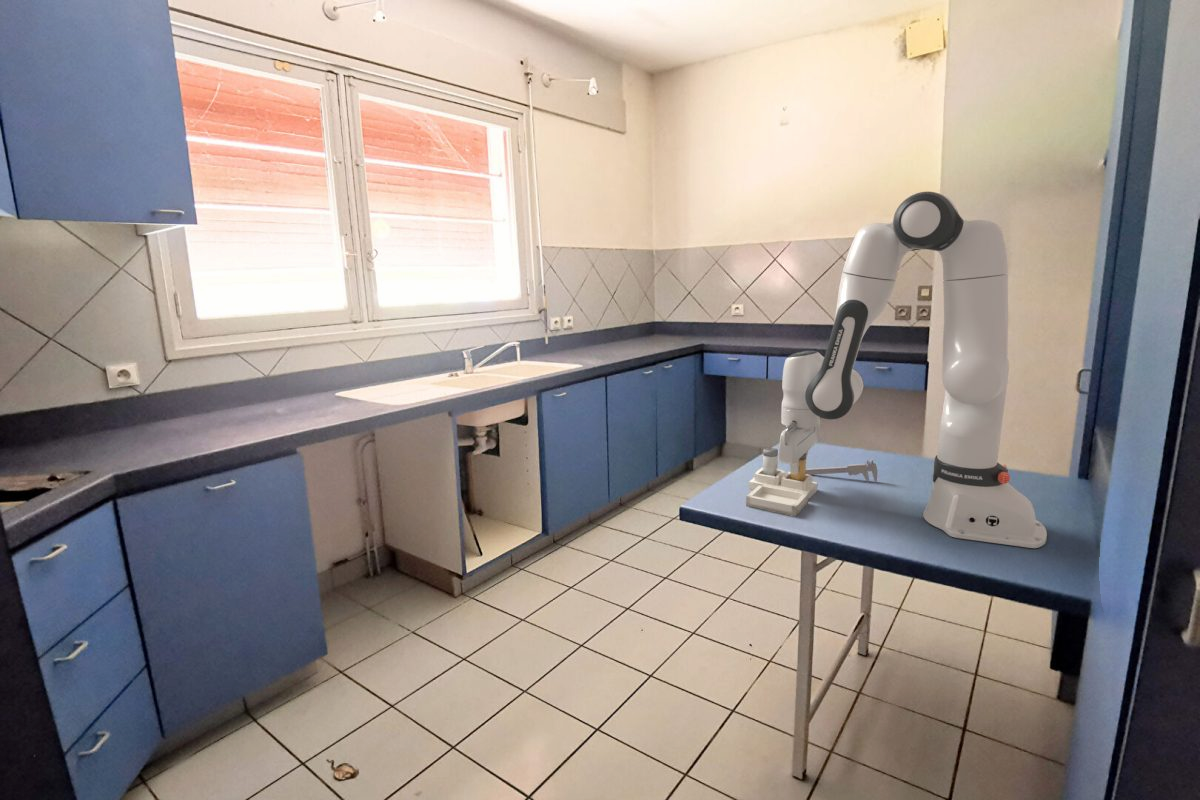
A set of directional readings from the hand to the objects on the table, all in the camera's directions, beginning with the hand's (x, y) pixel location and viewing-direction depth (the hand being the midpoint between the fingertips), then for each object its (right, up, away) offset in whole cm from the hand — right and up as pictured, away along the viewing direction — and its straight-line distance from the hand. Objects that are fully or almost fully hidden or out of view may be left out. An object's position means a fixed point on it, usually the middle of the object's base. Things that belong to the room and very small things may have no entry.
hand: (798, 470), depth 150 cm
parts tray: (-7, -8, -6) cm, 12 cm away
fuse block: (-3, -5, +3) cm, 7 cm away
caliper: (+13, -4, +10) cm, 17 cm away
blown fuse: (0, -4, +1) cm, 4 cm away
